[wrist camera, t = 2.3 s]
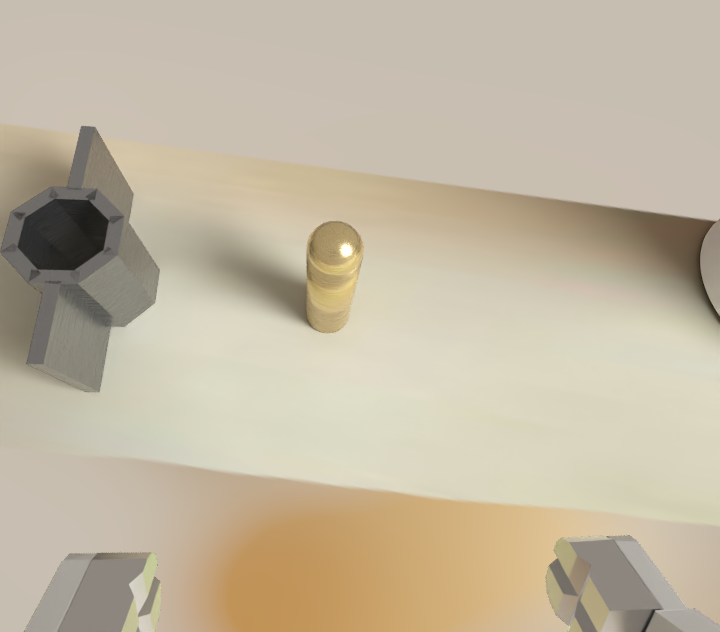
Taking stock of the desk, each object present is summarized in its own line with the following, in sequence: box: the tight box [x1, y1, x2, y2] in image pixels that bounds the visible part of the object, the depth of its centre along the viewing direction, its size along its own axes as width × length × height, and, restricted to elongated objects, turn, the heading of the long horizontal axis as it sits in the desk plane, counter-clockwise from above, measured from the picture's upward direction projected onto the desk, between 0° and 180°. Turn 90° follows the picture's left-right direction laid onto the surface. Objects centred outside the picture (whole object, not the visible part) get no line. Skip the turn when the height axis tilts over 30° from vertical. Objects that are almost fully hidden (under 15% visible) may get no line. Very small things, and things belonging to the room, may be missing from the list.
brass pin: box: [307, 221, 363, 333], centre depth 29 cm, size 3×3×11 cm
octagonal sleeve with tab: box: [0, 126, 159, 392], centre depth 30 cm, size 6×15×7 cm, turn 1°
